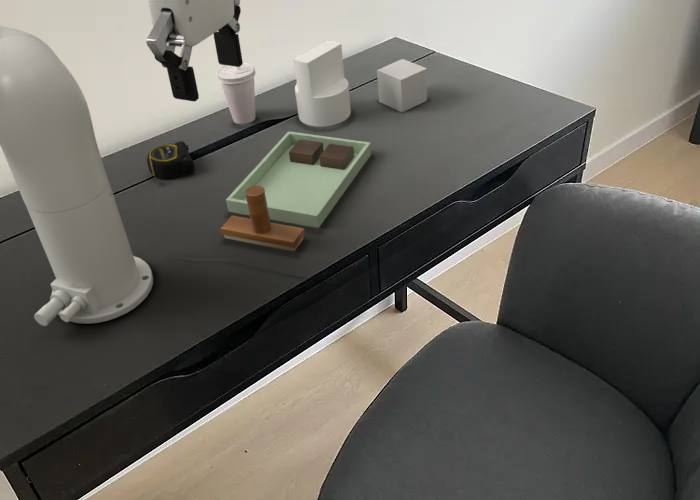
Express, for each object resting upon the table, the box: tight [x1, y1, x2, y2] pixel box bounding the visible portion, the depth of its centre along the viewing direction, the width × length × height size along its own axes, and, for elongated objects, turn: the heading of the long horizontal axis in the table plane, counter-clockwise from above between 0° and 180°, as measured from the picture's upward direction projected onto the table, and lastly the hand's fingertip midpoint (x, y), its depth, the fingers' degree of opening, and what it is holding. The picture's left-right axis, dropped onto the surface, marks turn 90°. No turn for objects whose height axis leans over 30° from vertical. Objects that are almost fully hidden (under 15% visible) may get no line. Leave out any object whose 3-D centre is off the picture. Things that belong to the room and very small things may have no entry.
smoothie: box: [216, 62, 256, 125], centre depth 125 cm, size 6×6×14 cm
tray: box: [225, 131, 372, 229], centre depth 111 cm, size 20×14×3 cm
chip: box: [319, 144, 354, 170], centre depth 114 cm, size 4×4×2 cm
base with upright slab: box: [293, 39, 352, 128], centre depth 125 cm, size 9×9×12 cm
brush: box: [220, 186, 306, 252], centre depth 99 cm, size 3×11×8 cm, turn 68°
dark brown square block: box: [289, 140, 324, 165], centre depth 116 cm, size 4×4×2 cm
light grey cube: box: [376, 58, 428, 113], centre depth 129 cm, size 6×6×6 cm
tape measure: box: [146, 140, 196, 181], centre depth 117 cm, size 7×7×4 cm
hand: (209, 81), depth 89 cm, fingers open, 9 cm apart
